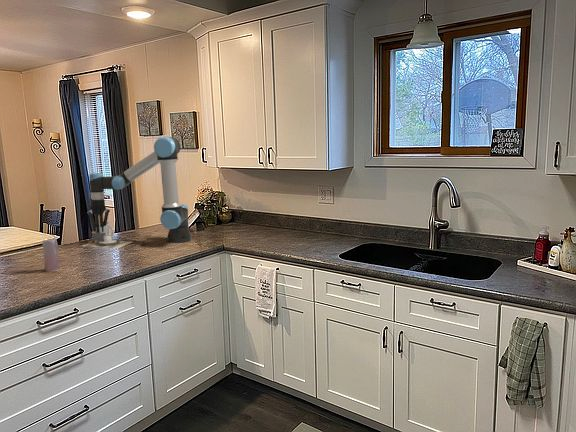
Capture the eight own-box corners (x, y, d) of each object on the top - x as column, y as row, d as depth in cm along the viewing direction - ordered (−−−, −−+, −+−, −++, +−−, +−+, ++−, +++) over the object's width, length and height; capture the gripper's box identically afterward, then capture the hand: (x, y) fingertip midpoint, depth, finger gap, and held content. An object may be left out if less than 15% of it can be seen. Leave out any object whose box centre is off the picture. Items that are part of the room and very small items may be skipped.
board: (134, 243, 268) (133, 239, 268) (118, 250, 252) (118, 245, 251) (98, 241, 273) (97, 237, 272) (80, 248, 256) (80, 243, 256)
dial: (120, 242, 266) (119, 231, 264) (110, 246, 256) (109, 234, 255) (98, 241, 269) (98, 230, 268) (88, 244, 259) (87, 233, 258)
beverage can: (48, 268, 214) (45, 238, 212) (61, 268, 215) (58, 238, 212) (42, 272, 208) (39, 241, 206) (55, 271, 209) (53, 241, 206)
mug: (118, 238, 283) (117, 222, 281) (110, 241, 275) (109, 225, 273) (102, 237, 286) (101, 221, 284) (93, 239, 278) (92, 224, 276)
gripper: (106, 197, 269) (108, 235, 272) (84, 199, 260) (87, 238, 264) (110, 198, 263) (113, 237, 267) (88, 200, 254) (91, 240, 258)
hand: (100, 237), depth 265 cm, fingers closed
